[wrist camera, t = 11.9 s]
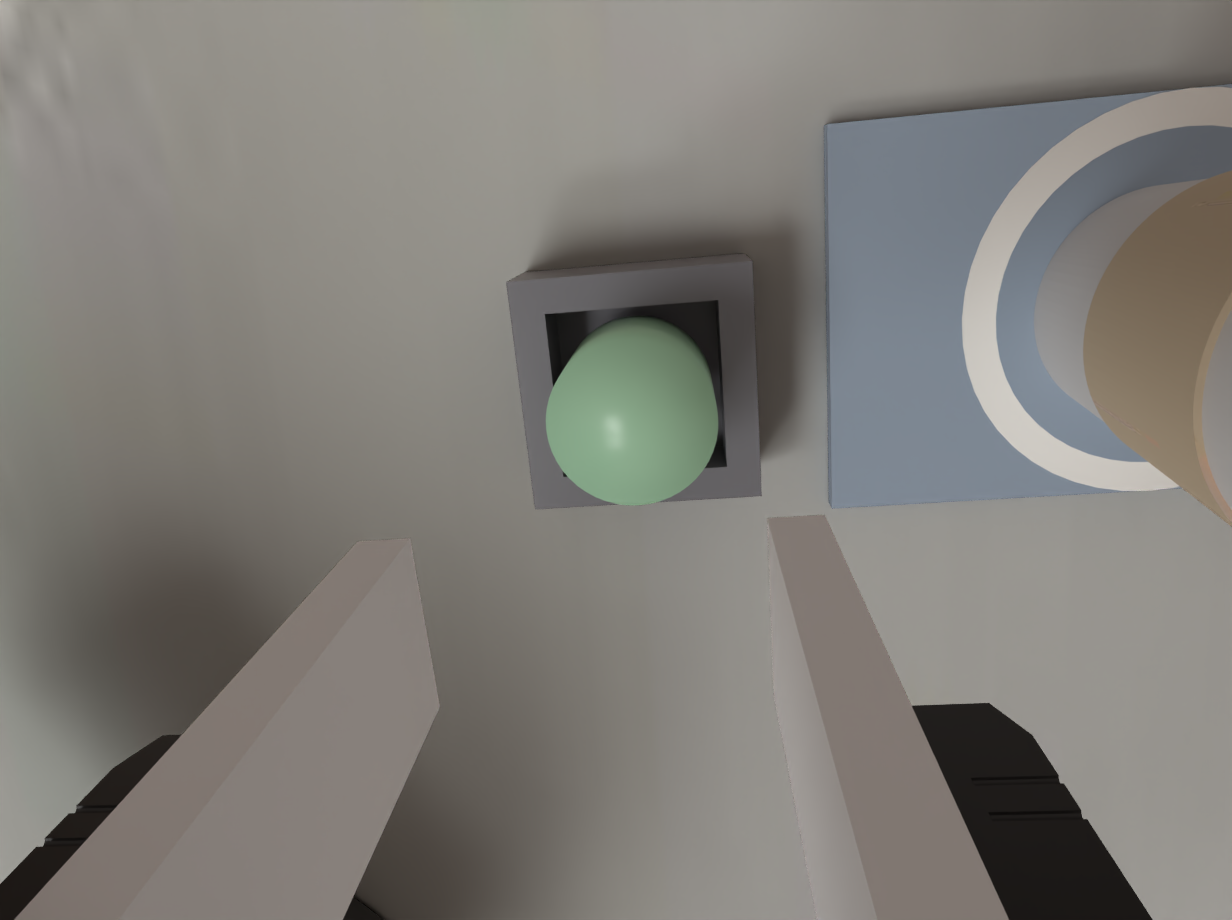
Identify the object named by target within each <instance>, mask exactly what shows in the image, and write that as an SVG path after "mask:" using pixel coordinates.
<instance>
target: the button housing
mask: <svg viewBox="0 0 1232 920" xmlns="http://www.w3.org/2000/svg"><path fill="white" fill-rule="evenodd" d="M506 284H507V292H508V299H509V307H510V315H511V323H512V331H513V339H514V347H515V355H516V362H517V370H518V378H519V386H520V394H521V402H522V410H523V418H524V426H525V433H526V441H527V449H528V457H529V465H530V473H531V481H532V489H533V496H534V504H535V509H550V508H567V507H584V506H601V505H618V504H615V503H611V502H607V501H604V500H602V499H599V498H596V497H594V496H592V495H591V494H589V493H587V492H585V491H584V490H582V489H581V488H580V487H578V486H577V485H576V484H575V483H574V482H573V481H571V480H570V479H569V478H568V476H567V475H566V474H565V473H564V472H563V471H562V469H561V468H560V466H559V464H558V463H557V461H556V459H555V457H554V455H553V453H552V451H551V448H550V445H549V442H548V437H547V432H546V411H547V405H548V401H549V397H550V394H551V392H552V389H553V387H554V385H555V383H556V381H557V379H558V377H559V376H560V374H561V373H562V371H563V370H564V368H565V366H566V365H567V363H568V362H569V360H570V358H571V357H572V355H573V354H574V352H575V350H576V349H577V348H578V346H579V345H580V343H581V342H582V341H583V340H584V339H585V338H586V337H587V336H588V335H589V334H590V333H591V332H592V331H594V330H595V329H596V328H598V327H599V326H601V325H603V324H605V323H607V322H609V321H611V320H614V319H618V318H621V317H627V316H650V317H655V318H659V319H662V320H665V321H667V322H670V323H672V324H674V325H675V326H677V327H679V328H680V329H682V330H683V331H684V332H686V333H687V334H688V335H689V336H690V337H691V338H692V339H693V340H694V341H695V342H696V344H697V345H698V346H699V348H700V349H701V351H702V353H703V354H704V356H705V358H706V361H707V363H708V366H709V369H710V373H711V378H712V384H713V389H714V394H715V400H716V405H717V412H718V434H717V441H716V444H715V447H714V451H713V453H712V455H711V458H710V460H709V462H708V463H707V465H706V467H705V468H704V470H703V471H702V472H701V474H700V475H699V476H698V477H697V478H696V479H695V480H694V481H693V482H692V483H691V484H690V485H689V486H688V487H686V488H685V489H684V490H682V491H681V492H679V493H677V494H676V495H674V496H672V497H670V498H667V499H665V500H662V501H659V502H668V501H685V500H702V499H719V498H736V497H753V496H762V492H761V466H760V441H759V415H758V389H757V364H756V338H755V312H754V287H753V261H752V260H751V259H750V258H749V257H748V256H747V255H746V254H744V253H742V254H730V255H718V256H707V257H695V258H684V259H672V260H660V261H649V262H637V263H625V264H614V265H602V266H591V267H579V268H567V269H556V270H544V271H532V272H524V273H522V274H520V275H518V276H516V277H515V278H513V279H511V280H509V281H507V282H506Z"/></svg>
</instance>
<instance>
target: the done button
mask: <svg viewBox="0 0 1232 920" xmlns="http://www.w3.org/2000/svg"><path fill="white" fill-rule="evenodd" d="M546 432H547V437H548V442H549V445H550V448H551V451H552V453H553V455H554V457H555V459H556V461H557V463H558V464H559V466H560V468H561V469H562V471H563V472H564V473H565V474H566V475H567V476H568V478H569V479H570V480H571V481H573V482H574V483H575V484H576V485H577V486H578V487H580V488H581V489H582V490H584V491H585V492H587V493H589V494H591V495H592V496H594V497H596V498H599V499H602V500H604V501H607V502H611V503H615V504H621V505H645V504H651V503H655V502H659V501H662V500H665V499H667V498H670V497H672V496H674V495H676V494H677V493H679V492H681V491H682V490H684V489H685V488H686V487H688V486H689V485H690V484H691V483H692V482H693V481H694V480H695V479H696V478H697V477H698V476H699V475H700V474H701V472H702V471H703V470H704V468H705V467H706V465H707V463H708V462H709V460H710V458H711V455H712V453H713V451H714V447H715V444H716V441H717V434H718V412H717V405H716V400H715V394H714V389H713V384H712V378H711V373H710V369H709V366H708V363H707V361H706V358H705V356H704V354H703V353H702V351H701V349H700V348H699V346H698V345H697V344H696V342H695V341H694V340H693V339H692V338H691V337H690V336H689V335H688V334H687V333H686V332H684V331H683V330H682V329H680V328H679V327H677V326H675V325H674V324H672V323H670V322H667V321H665V320H662V319H659V318H655V317H650V316H627V317H621V318H618V319H614V320H611V321H609V322H607V323H605V324H603V325H601V326H599V327H598V328H596V329H595V330H594V331H592V332H591V333H590V334H589V335H588V336H587V337H586V338H585V339H584V340H583V341H582V342H581V343H580V345H579V346H578V348H577V349H576V350H575V352H574V354H573V355H572V357H571V358H570V360H569V362H568V363H567V365H566V366H565V368H564V370H563V371H562V373H561V374H560V376H559V377H558V379H557V381H556V383H555V385H554V387H553V389H552V392H551V394H550V397H549V401H548V405H547V411H546Z"/></svg>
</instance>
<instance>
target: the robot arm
mask: <svg viewBox="0 0 1232 920" xmlns="http://www.w3.org/2000/svg"><path fill="white" fill-rule="evenodd" d="M767 533H768V560H769V587H770V614H771V641H772V667H773V694H774V700H775V705H776V710H777V715H778V720H779V726H780V731H781V736H782V741H783V747H784V752H785V757H786V762H787V767H788V773H789V778H790V783H791V788H792V793H793V799H794V804H795V809H796V814H797V819H798V825H799V830H800V835H801V840H802V845H803V851H804V856H805V861H806V866H807V872H808V877H809V882H810V887H811V892H812V898H813V903H814V908H815V913H816V918H817V920H1152V918H1151V917H1150V915H1149V914H1148V912H1147V910H1146V909H1145V907H1144V906H1143V904H1142V903H1141V901H1140V900H1139V898H1138V897H1137V895H1136V894H1135V892H1134V890H1133V889H1132V887H1131V886H1130V884H1129V883H1128V881H1127V880H1126V878H1125V877H1124V875H1123V874H1122V872H1121V871H1120V869H1119V867H1118V866H1117V864H1116V863H1115V861H1114V860H1113V858H1112V857H1111V855H1110V854H1109V852H1108V851H1107V849H1106V848H1105V846H1104V844H1103V843H1102V841H1101V840H1100V838H1099V837H1098V835H1097V834H1096V832H1095V831H1094V829H1093V828H1092V826H1091V825H1090V823H1089V821H1088V820H1087V819H1083V818H1082V814H1081V809H1080V808H1079V806H1078V805H1077V803H1076V802H1075V800H1074V798H1073V797H1072V795H1071V794H1070V792H1069V791H1068V789H1067V788H1066V786H1065V785H1064V784H1060V782H1059V778H1058V774H1057V772H1056V771H1055V769H1054V768H1053V766H1052V765H1051V763H1050V762H1049V760H1048V759H1047V757H1046V756H1045V754H1044V752H1043V751H1042V749H1041V748H1040V746H1039V745H1038V743H1037V742H1036V740H1035V739H1034V737H1033V736H1032V735H1031V734H1030V733H1029V732H1027V731H1026V730H1025V729H1023V728H1022V727H1020V726H1019V725H1018V724H1016V723H1015V722H1014V721H1012V720H1011V719H1010V718H1008V717H1007V716H1006V715H1004V714H1003V713H1002V712H1000V711H999V710H997V709H996V708H995V707H993V706H992V705H991V704H989V703H977V704H948V705H920V706H911V703H910V701H909V699H908V697H907V695H906V692H905V690H904V688H903V686H902V684H901V681H900V679H899V677H898V675H897V673H896V670H895V668H894V666H893V664H892V662H891V659H890V657H889V655H888V653H887V651H886V648H885V646H884V644H883V642H882V640H881V638H880V635H879V633H878V631H877V629H876V627H875V624H874V622H873V620H872V618H871V616H870V613H869V611H868V609H867V607H866V605H865V602H864V600H863V598H862V596H861V594H860V591H859V589H858V587H857V585H856V583H855V580H854V578H853V576H852V574H851V572H850V569H849V567H848V565H847V563H846V561H845V558H844V556H843V554H842V552H841V550H840V547H839V545H838V543H837V541H836V539H835V536H834V534H833V532H832V530H831V528H830V526H829V523H828V521H827V519H826V517H825V515H810V516H793V517H775V518H767ZM439 708H440V703H439V698H438V692H437V687H436V681H435V675H434V670H433V664H432V658H431V653H430V647H429V641H428V636H427V630H426V624H425V619H424V613H423V607H422V602H421V596H420V590H419V585H418V579H417V574H416V568H415V562H414V557H413V551H412V545H411V540H410V538H404V539H387V540H369V541H357V542H356V544H355V545H354V546H353V547H352V548H351V549H350V550H349V551H348V552H347V553H346V555H345V556H344V557H343V558H342V559H341V560H340V561H339V562H338V563H337V564H336V566H335V567H334V568H333V569H332V570H331V571H330V572H329V573H328V574H327V576H326V577H325V578H324V579H323V580H322V581H321V582H320V583H319V584H318V585H317V587H316V588H315V589H314V590H313V591H312V592H311V593H310V594H309V595H308V596H307V598H306V599H305V600H304V601H303V602H302V603H301V604H300V605H299V606H298V607H297V609H296V610H295V611H294V612H293V613H292V614H291V615H290V616H289V617H288V618H287V620H286V621H285V622H284V623H283V624H282V625H281V626H280V627H279V628H278V629H277V631H276V632H275V633H274V634H273V635H272V636H271V637H270V638H269V639H268V641H267V642H266V643H265V644H264V645H263V646H262V647H261V648H260V649H259V650H258V652H257V653H256V654H255V655H254V656H253V657H252V658H251V659H250V660H249V661H248V663H247V664H246V665H245V666H244V667H243V668H242V669H241V670H240V671H239V672H238V674H237V675H236V676H235V677H234V678H233V679H232V680H231V681H230V682H229V683H228V685H227V686H226V687H225V688H224V689H223V690H222V691H221V692H220V693H219V694H218V696H217V697H216V698H215V699H214V700H213V701H212V702H211V703H210V704H209V706H208V707H207V708H206V709H205V710H204V711H203V712H202V713H201V714H200V715H199V717H198V718H197V719H196V720H195V721H194V722H193V723H192V724H191V725H190V726H189V728H188V729H187V730H186V731H185V732H184V733H183V734H182V735H167V736H161V737H160V738H158V739H157V740H155V741H154V742H152V743H150V744H149V745H147V746H146V747H144V748H143V749H141V750H140V751H138V752H137V753H135V754H134V755H132V756H131V757H129V758H128V759H126V760H125V761H123V762H122V763H120V764H119V765H117V766H116V767H114V768H113V769H112V770H111V771H110V772H109V773H108V774H107V775H106V776H105V777H104V778H103V779H102V780H101V781H100V782H99V783H98V784H97V785H96V786H95V787H94V788H93V789H92V790H91V791H90V792H89V794H88V795H87V796H86V797H85V798H84V799H83V800H82V801H81V802H80V803H79V804H78V805H77V809H76V812H75V813H71V814H68V815H67V816H66V817H65V818H64V819H63V820H62V821H61V822H60V823H59V824H58V825H57V826H56V827H55V828H54V829H53V830H52V831H51V833H50V834H49V835H48V836H47V837H46V838H45V843H44V846H43V847H36V848H35V849H34V850H33V851H32V852H31V853H30V854H29V855H28V856H27V857H26V858H25V859H24V860H23V861H22V862H21V863H20V864H19V865H18V866H17V867H16V868H15V869H14V870H13V872H12V873H11V874H10V875H9V876H8V877H7V878H6V879H5V880H4V881H3V882H2V883H1V884H0V920H382V919H381V918H380V917H379V916H377V915H376V914H375V913H374V912H373V911H371V910H370V909H369V908H367V907H366V906H365V905H363V904H362V903H360V902H359V901H357V900H356V899H354V898H353V896H354V894H355V892H356V890H357V887H358V885H359V883H360V881H361V879H362V876H363V874H364V872H365V870H366V868H367V866H368V863H369V861H370V859H371V857H372V855H373V852H374V850H375V848H376V846H377V844H378V842H379V839H380V837H381V835H382V833H383V831H384V828H385V826H386V824H387V822H388V820H389V817H390V815H391V813H392V811H393V809H394V807H395V804H396V802H397V800H398V798H399V796H400V793H401V791H402V789H403V787H404V785H405V782H406V780H407V778H408V776H409V774H410V772H411V769H412V767H413V765H414V763H415V761H416V758H417V756H418V754H419V752H420V750H421V748H422V745H423V743H424V741H425V739H426V737H427V734H428V732H429V730H430V728H431V726H432V723H433V721H434V719H435V717H436V715H437V713H438V710H439Z"/></svg>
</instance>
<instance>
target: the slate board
mask: <svg viewBox="0 0 1232 920" xmlns="http://www.w3.org/2000/svg"><path fill="white" fill-rule="evenodd" d="M1231 170H1232V84H1226V85H1216V86H1206V87H1196V88H1186V89H1176V90H1166V91H1156V92H1145V93H1135V94H1125V95H1115V96H1105V97H1095V98H1085V99H1075V100H1065V101H1055V102H1045V103H1035V104H1025V105H1015V106H1005V107H995V108H985V109H974V110H964V111H954V112H944V113H934V114H924V115H914V116H904V117H894V118H884V119H874V120H864V121H854V122H844V123H834V124H826V125H824V176H825V252H826V328H827V404H828V480H829V504H830V506H831V508H832V509H833V508H850V507H867V506H885V505H902V504H920V503H937V502H955V501H972V500H990V499H1007V498H1025V497H1042V496H1059V495H1077V494H1094V493H1112V492H1129V491H1151V490H1164V489H1182V488H1181V487H1180V486H1179V485H1177V484H1176V483H1175V482H1174V481H1172V480H1171V479H1170V478H1168V477H1167V476H1166V475H1164V474H1163V473H1162V472H1161V471H1159V470H1158V469H1157V468H1155V467H1154V466H1153V465H1152V464H1150V463H1149V462H1148V461H1146V460H1145V459H1144V458H1142V457H1141V456H1140V455H1139V454H1137V453H1136V452H1135V451H1133V450H1132V449H1131V448H1130V447H1128V446H1127V445H1126V444H1125V443H1123V442H1122V441H1121V440H1120V439H1119V438H1118V437H1117V436H1116V435H1115V434H1114V433H1113V432H1112V431H1111V430H1110V428H1109V427H1108V426H1107V425H1106V423H1105V422H1103V421H1102V420H1101V419H1099V418H1098V417H1097V416H1095V415H1094V414H1093V413H1091V412H1090V411H1089V410H1087V409H1086V408H1085V407H1083V406H1082V405H1081V404H1079V403H1078V402H1077V401H1075V400H1074V399H1073V398H1071V397H1070V396H1069V395H1067V394H1066V393H1065V392H1064V391H1063V390H1062V389H1061V388H1060V387H1059V386H1058V385H1057V384H1056V383H1055V382H1054V380H1053V379H1052V378H1051V376H1050V375H1049V373H1048V372H1047V370H1046V368H1045V366H1044V364H1043V362H1042V360H1041V357H1040V355H1039V352H1038V348H1037V344H1036V339H1035V332H1034V312H1035V304H1036V298H1037V294H1038V290H1039V286H1040V283H1041V281H1042V278H1043V275H1044V273H1045V271H1046V269H1047V267H1048V265H1049V263H1050V261H1051V259H1052V257H1053V256H1054V254H1055V252H1056V251H1057V249H1058V248H1059V246H1060V245H1061V244H1062V242H1063V241H1064V240H1065V239H1066V237H1067V236H1068V235H1069V234H1070V233H1071V232H1072V231H1073V230H1074V229H1075V228H1076V227H1077V226H1078V225H1079V224H1080V223H1081V222H1082V221H1083V220H1084V219H1085V218H1087V217H1088V216H1089V215H1090V214H1092V213H1093V212H1094V211H1096V210H1097V209H1099V208H1100V207H1102V206H1103V205H1105V204H1107V203H1108V202H1110V201H1112V200H1114V199H1116V198H1118V197H1120V196H1122V195H1125V194H1127V193H1130V192H1132V191H1135V190H1139V189H1142V188H1146V187H1151V186H1156V185H1163V184H1171V183H1179V182H1186V181H1194V180H1201V179H1209V178H1211V177H1214V176H1216V175H1219V174H1222V173H1225V172H1228V171H1231Z"/></svg>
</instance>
